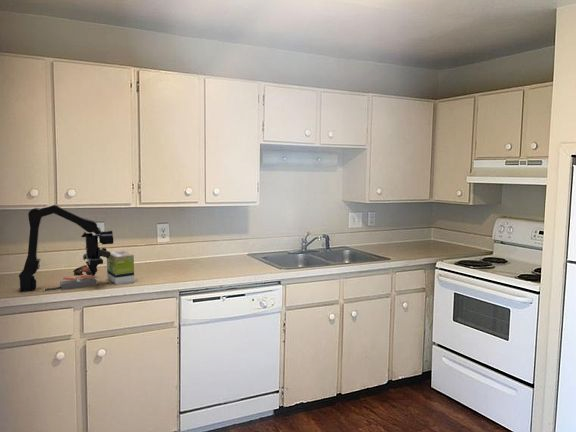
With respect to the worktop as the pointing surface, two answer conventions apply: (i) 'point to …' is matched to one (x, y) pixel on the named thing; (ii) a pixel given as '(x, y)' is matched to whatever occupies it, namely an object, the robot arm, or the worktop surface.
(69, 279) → the rocker left
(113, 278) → the tea box
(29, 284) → the robot arm
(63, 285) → the power strip
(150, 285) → the worktop surface
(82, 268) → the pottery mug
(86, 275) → the rocker right
